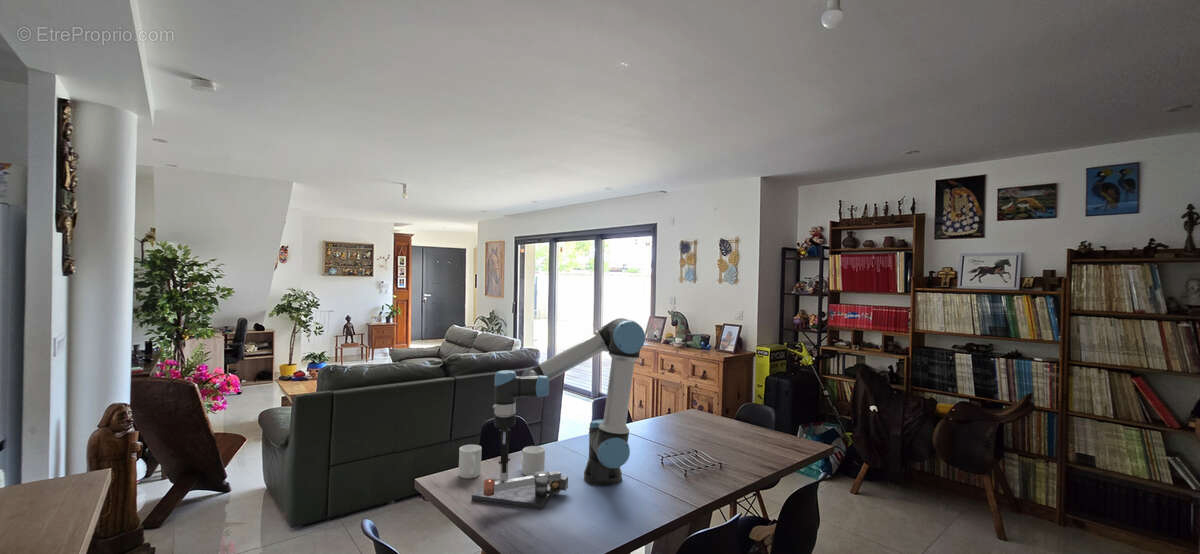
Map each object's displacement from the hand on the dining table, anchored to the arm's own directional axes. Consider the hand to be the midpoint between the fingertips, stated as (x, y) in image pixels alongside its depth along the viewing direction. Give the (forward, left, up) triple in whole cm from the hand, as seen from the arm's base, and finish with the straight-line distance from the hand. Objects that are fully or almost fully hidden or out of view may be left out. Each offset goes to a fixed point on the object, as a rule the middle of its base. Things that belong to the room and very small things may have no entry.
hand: (504, 480), depth 176 cm
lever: (-8, +1, -1) cm, 8 cm away
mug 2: (0, -27, -7) cm, 28 cm away
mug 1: (+21, -15, -7) cm, 27 cm away
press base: (-5, -3, -6) cm, 9 cm away
